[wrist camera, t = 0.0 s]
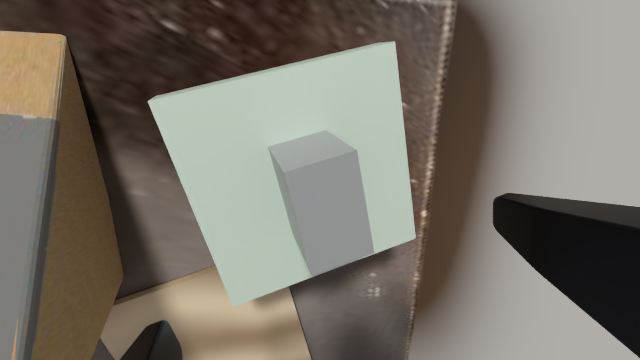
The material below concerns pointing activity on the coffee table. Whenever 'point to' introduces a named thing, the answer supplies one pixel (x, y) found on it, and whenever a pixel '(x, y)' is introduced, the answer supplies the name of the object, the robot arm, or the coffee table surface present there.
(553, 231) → the robot arm
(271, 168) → the lid
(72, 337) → the wooden ramp
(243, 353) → the cork mat
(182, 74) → the coffee table surface
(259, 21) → the coffee table surface
